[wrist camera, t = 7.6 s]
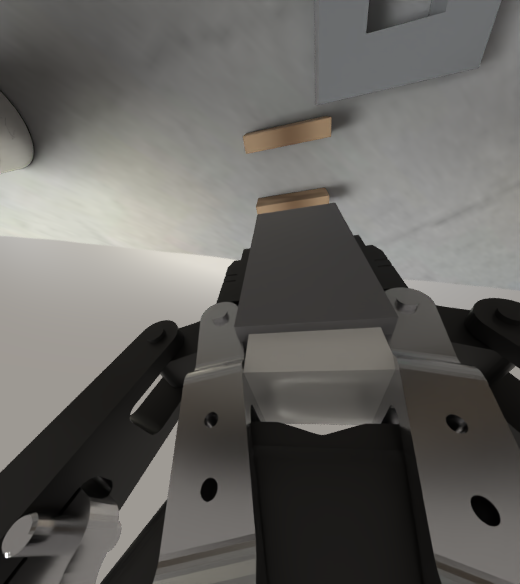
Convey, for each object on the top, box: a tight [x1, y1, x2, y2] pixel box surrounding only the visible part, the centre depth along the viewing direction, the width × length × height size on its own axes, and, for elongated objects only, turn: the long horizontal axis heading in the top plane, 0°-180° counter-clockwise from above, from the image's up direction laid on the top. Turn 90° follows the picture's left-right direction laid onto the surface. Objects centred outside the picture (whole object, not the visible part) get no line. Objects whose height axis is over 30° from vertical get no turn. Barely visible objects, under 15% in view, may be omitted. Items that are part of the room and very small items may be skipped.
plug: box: [234, 203, 399, 425], centre depth 8 cm, size 4×4×8 cm
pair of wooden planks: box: [243, 116, 331, 214], centre depth 23 cm, size 8×8×3 cm
